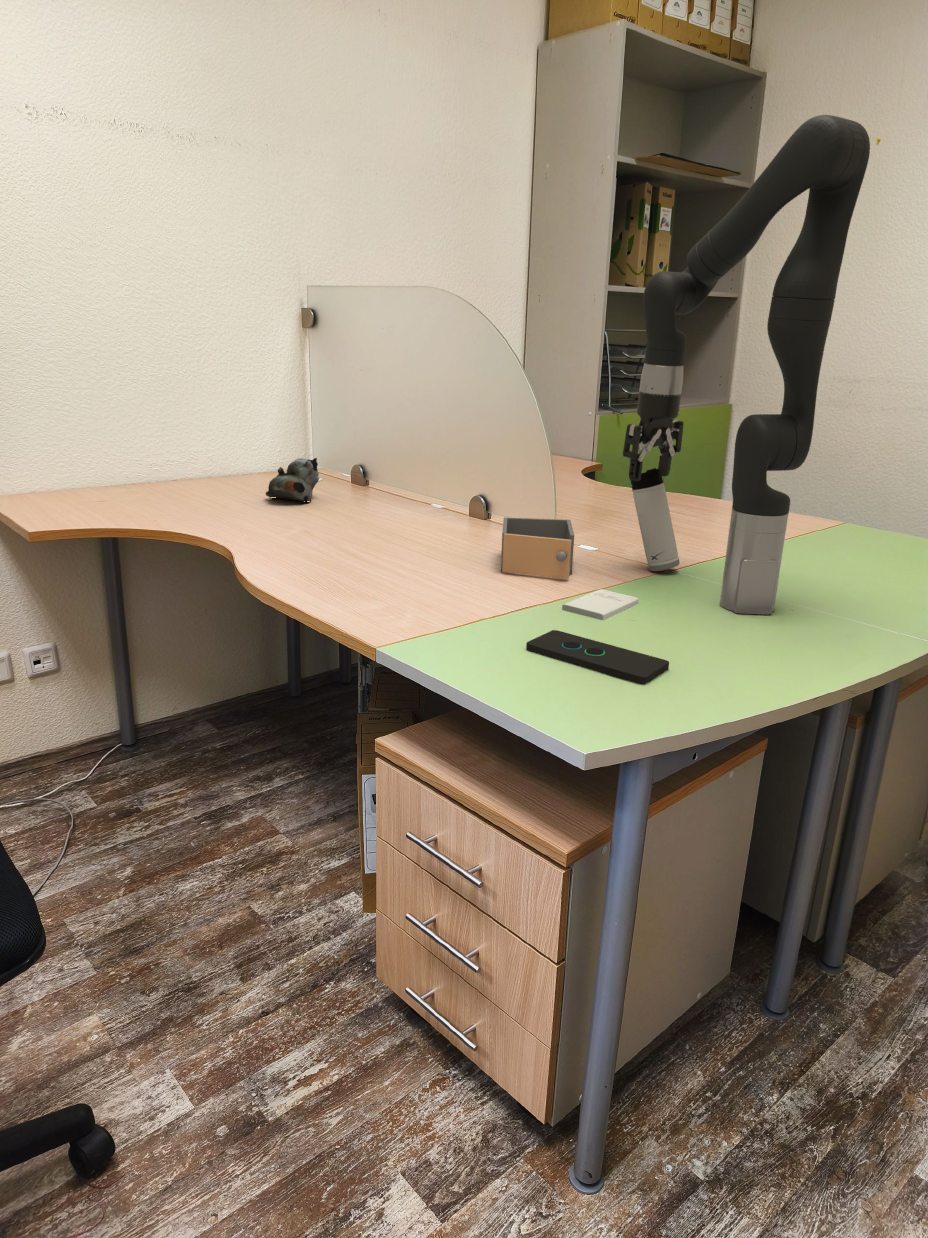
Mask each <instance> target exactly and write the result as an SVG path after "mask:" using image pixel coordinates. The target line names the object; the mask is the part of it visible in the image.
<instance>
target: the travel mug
mask: <svg viewBox="0 0 928 1238" xmlns="http://www.w3.org/2000/svg"><path fill="white" fill-rule="evenodd" d="M629 480H630V479H629ZM630 484H631V491H632V492H633V493H632V495H633V499H634V506H635V509H636V511H635V512H636V516H637V521H638V525H639V530H640V534H641V535H640V536H641V539H642V543H643V544H642V545H643V548H644V549H643V550H644V555H645V558H646V562H647V568H648V570H649V571H651V572H661V571H665V570H670V569H674V568H676V567H678V566H679V565H680V564H681V563H680V562H681V561H680V557H679V552H678V548H677V542H676V538H675V532H674V527H673V522H672V517H671V513H670V507H669V503H668V496H667V492H666V487H665V483H664V479H663V476H661V475H658V468H656V467H653V468H650V469H646V471H645V472H641V479H640V481H633V480H630Z"/></svg>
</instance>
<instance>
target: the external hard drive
mask: <svg viewBox="0 0 928 1238" xmlns="http://www.w3.org/2000/svg"><path fill="white" fill-rule="evenodd" d="M639 600H640V599H639V598H638V597H636V596H631V595H628V594H624V593H623V594H622V593H619V592H614V591H611V590H608V589H607V590H606V589H601V588H600V589H598V590H596V591H593V592H590V593H588V594H585V595H582V596H580V597H578V598H575V599H572V600H570V601H568V602H566V603H563V604H562V605H561V610H562V611H565V612H570V613H573V614H576V615H577V614H578V615H580V616H585V617H588V618H593V619H595V620H596V619H597V620H600V621H604V620H607V619H609V618H611V617H613V616H615V615H617V614H619V613H622V612H623V611H625V610H627V609H630V608H631V607H634V606H636V605H638V604H639Z"/></svg>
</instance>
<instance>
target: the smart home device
mask: <svg viewBox="0 0 928 1238" xmlns="http://www.w3.org/2000/svg"><path fill="white" fill-rule="evenodd" d="M525 648H526V649H525V650H526V651H528V652H530V653H534V654H537V655H540V656H544V657H546V658H549V659H553V660H557V661H559V662H563V663H567V664H570V665H574V666H577V667H580V668H584V669H587V670H590V671H593V672H597V673H600V674H603V675H607V676H610V677H614V678H618V679H621V680H624V681H628V682H631V683H634V684H637V685H643V686H645V685H647V684H648V683H650V682H652V681H653V680H655V679H656V678H658V677H659V676H661V675H663V674H664V673H665V672H667V671H669V668H670V661H669V660H668V659H667V660H666V659H664V658H659V657H656V656H653V655H649V654H645V653H642V652H639V651H634V650H631V649H627V648H623V647H621V646H620V647H619V646H617V645H614V644H613V645H612V644H609V643H604V642H601V641H598V640H595V639H590V638H587V637H583V636H580V635H576V634H572V633H569V632H565V631H560V630H557V629H552V630H550V631H548V632H546V633H544V634H541V635H539V636H537V637H535V638H533V639H530V640H528V641H526V646H525Z"/></svg>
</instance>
